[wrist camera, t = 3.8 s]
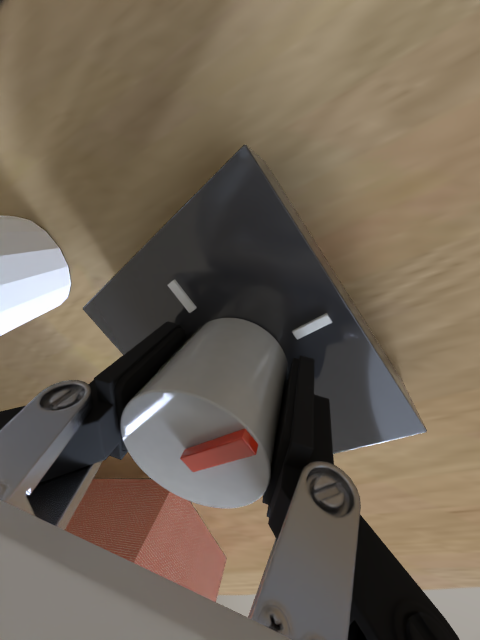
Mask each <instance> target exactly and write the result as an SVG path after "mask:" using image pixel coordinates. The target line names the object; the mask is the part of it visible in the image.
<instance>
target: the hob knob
mask: <svg viewBox="0 0 480 640" xmlns="http://www.w3.org/2000/svg"><path fill="white" fill-rule="evenodd" d="M287 377H288V364H287V359H286V356H285V354H284V352H283V349H282V348H281V346H280V345H279V343H278V342H277V341H276V339H275V338H274V337H273V336H272V335H271V334H270V333H269V332H267V331H266V330H265V329H263V328H262V327H260V326H258V325H256V324H254V323H252V322H250V321H246V320H243V319H238V318H220V319H215V320H212V321H209V322H207V323H206V324H204V325H202V326H201V327H200V328H199V329H198V330H197V331H196V332H195V333H194V334H193V335H192V336H191V337H190V338H189V339H188V340H187V341H186V342H185V343H184V344H183V345H182V347H181V348H180V349H179V350H178V351H177V352H176V353H175V354H174V355H173V356H172V357H171V358H170V359H169V360H168V361H167V362H166V363H165V364H164V365H163V366H162V368H161V369H160V370H159V371H158V372H157V373H156V374H155V375H154V376H153V377H152V378H151V379H150V380H149V381H148V382H147V383H146V384H145V385H144V386H143V388H142V389H141V390H140V391H139V392H138V393H137V394H136V395H135V396H134V397H133V398H132V399H131V400H130V401H129V402H128V403H127V405H126V406H125V408H124V410H123V413H122V416H121V421H120V429H121V435H122V439H123V441H124V444H125V446H126V448H127V450H128V452H129V454H130V455H131V457H132V458H133V460H134V461H135V462H136V464H137V465H138V466H139V467H140V468H141V469H142V470H143V471H144V472H145V473H146V474H147V475H148V476H149V477H150V478H151V479H153V480H154V481H155V482H156V483H158V484H159V485H160V486H162V487H163V488H165V489H166V490H168V491H170V492H171V493H173V494H175V495H177V496H179V497H181V498H183V499H186V500H188V501H191V502H194V503H196V504H200V505H204V506H208V507H214V508H238V507H242V506H246V505H249V504H251V503H253V502H255V501H256V500H258V499H259V498H260V497H261V496H262V495H263V494H264V492H265V491H266V490H267V488H268V485H269V483H270V479H271V473H272V467H273V461H274V455H275V449H276V443H277V437H278V431H279V425H280V419H281V413H282V407H283V401H284V395H285V389H286V383H287Z"/></svg>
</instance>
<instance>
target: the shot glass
mask: <svg viewBox="0 0 480 640" xmlns="http://www.w3.org/2000/svg"><path fill="white" fill-rule="evenodd" d="M70 286H71V281H70V274H69V268H68V265H67V263H66V261H65V259H64V256H63V254H62V252H61V250H60V248H59V247H58V245H57V244H56V243H55V242H54V241H53V239H52V238H51V237H50V236H49V234H48V233H47V232H46V231H45V230H43V229H42V228H41V227H39V226H38V225H36V224H35V223H34V222H32V221H31V220H28V219H24V218H20V217H16V216H0V336H1V335H3V334H5V333H7V332H9V331H11V330H13V329H15V328H16V327H18V326H20V325H22V324H24V323H26V322H28V321H30V320H32V319H34V318H36V317H38V316H40V315H42V314H44V313H46V312H48V311H50V310H52V309H54V308H56V307H57V306H59V305H61V304H62V303H63V302H64V301H65V300H66V299H67V298H68V295H69V291H70Z"/></svg>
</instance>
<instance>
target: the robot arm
mask: <svg viewBox="0 0 480 640" xmlns="http://www.w3.org/2000/svg"><path fill="white" fill-rule="evenodd" d="M184 343H185V330H184V329H182V327H181V325H180V324H176V323H172V322H168V321H167V322H165V323H164V324H163V325H162V326H160V327H159V328H158V329H156V330H155V331H154V332H153V333H151V334H150V335H149V336H147V337H146V338H145V339H144V340H142V341H141V342H140V343H138V344H137V345H136V346H135V347H133V348H132V349H131V350H129V351H128V352H127V353H126V354H124V355H123V356H122V357H120V358H119V359H118V360H117V361H115V362H114V363H113V364H112V365H110V366H109V367H108V368H106V369H105V370H104V371H103V372H101V373H100V374H99V375H97V376H96V377H95V378H94V380H93V381H92V382H91V383H90V384H87V383H85V382H83V381H79V380H68V381H62V382H59V383H56V384H53V385H51V386H49V387H47V388H46V389H44V390H43V391H42V392H40V393H39V394H38V395H37V396H36V397H35V398H34V399H33V400H32V401H31V402H30V403H28V404H27V405H26V406H23V407H18V408H14V409H9V410H5V411H1V412H0V640H459V638H458V636H457V635H456V633H455V632H454V630H453V629H452V628H451V626H450V625H449V623H448V622H447V620H446V619H445V618H444V617H443V616H442V614H441V613H440V612H439V610H438V609H437V608H436V607H435V605H434V604H433V603H432V602H431V601H430V599H429V598H428V597H427V596H426V595H425V593H424V592H423V591H422V590H421V588H420V587H419V586H418V585H417V583H416V582H415V581H414V580H413V579H412V577H411V576H410V575H409V574H408V572H407V571H406V570H405V569H404V568H403V566H402V565H401V564H400V563H399V561H398V560H397V559H396V558H395V557H394V555H393V554H392V553H391V552H390V550H389V549H388V548H387V547H386V545H385V544H384V543H383V542H382V541H381V539H380V538H379V537H378V536H377V534H376V533H375V532H374V531H373V530H372V528H371V527H370V526H369V525H368V523H367V522H366V521H365V520H364V519H363V517H362V516H361V515H360V509H361V505H360V496H359V493H358V491H357V488H356V486H355V485H354V483H353V482H352V480H351V478H350V477H349V476H348V475H347V474H346V473H345V472H344V471H343V470H341V469H340V468H338V467H337V466H335V465H334V460H333V445H332V430H331V415H330V402H329V399H328V398H325V397H321V396H318V395H314V359H313V358H309V357H305V356H301V355H300V356H299V359H298V358H293V361H292V365H291V369H290V372H289V376H288V380H287V383H286V389H285V395H284V401H283V407H282V413H281V419H280V425H279V431H278V437H277V443H276V449H275V455H274V461H273V467H272V473H271V479H270V483H269V485H268V488H267V490H266V491H265V492H264V495H263V503H265V504H268V511H267V517H269V523H268V524H269V526H270V528H271V530H272V531H273V533H274V535H275V537H276V539H275V542H274V545H273V548H272V551H271V553H270V556H269V559H268V562H267V565H266V568H265V570H264V573H263V576H262V579H261V582H260V585H259V588H258V590H257V593H256V596H255V599H254V602H253V605H252V608H251V610H250V613H249V616H248V618H247V617H245V616H243V615H241V614H239V613H237V612H235V611H233V610H231V609H229V608H227V607H224V606H222V605H220V604H218V603H216V602H214V601H212V600H210V599H208V598H206V597H204V596H202V595H199V594H197V593H195V592H193V591H191V590H189V589H187V588H185V587H183V586H181V585H179V584H177V583H174V582H172V581H170V580H168V579H166V578H164V577H162V576H160V575H158V574H156V573H154V572H151V571H149V570H147V569H145V568H143V567H141V566H139V565H137V564H135V563H133V562H130V561H128V560H126V559H124V558H122V557H120V556H118V555H116V554H114V553H111V552H109V551H107V550H105V549H103V548H101V547H99V546H97V545H95V544H92V543H90V542H88V541H86V540H84V539H82V538H80V537H78V536H75V535H73V534H71V533H69V532H67V531H65V529H66V527H67V525H68V523H69V522H70V520H71V518H72V516H73V514H74V513H75V511H76V509H77V507H78V505H79V504H80V502H81V500H82V498H83V496H84V494H85V493H86V491H87V489H88V487H89V485H90V484H91V482H92V480H93V478H94V476H95V475H96V473H97V471H98V469H99V467H100V466H101V463H102V461H103V460H106V458H107V457H108V456H112V457H115V458H117V459H120V460H121V459H122V458H123V457H124V456H125V454H126V453H127V452H128V450H127V448H126V446H125V444H124V441H123V439H122V435H121V429H120V421H121V416H122V413H123V410H124V408H125V406H126V405H127V403H128V402H129V401H130V400H131V399H132V398H133V397H134V396H135V395H136V394H137V393H138V392H139V391H140V390H141V389H142V388H143V386H144V385H145V384H146V383H147V382H148V381H149V380H150V379H151V378H152V377H153V376H154V375H155V374H156V373H157V372H158V371H159V370H160V369H161V368H162V366H163V365H164V364H165V363H166V362H167V361H168V360H169V359H170V358H171V357H172V356H173V355H174V354H175V353H176V352H177V351H178V350H179V349H180V348H181V347H182V345H183V344H184Z"/></svg>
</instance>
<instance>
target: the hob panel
mask: <svg viewBox="0 0 480 640" xmlns="http://www.w3.org/2000/svg"><path fill="white" fill-rule="evenodd" d="M83 310H84V311H85V312H86V313H87V314H88V316H89V317H90V318H91V319H92V320H93V321H94V322H95V323H96V325H97V326H98V327H99V328H100V329H101V330H102V331H103V333H104V334H105V335H106V336H107V337H108V338H109V339H110V340H111V342H112V343H113V344H114V345H115V346H116V347H117V348H118V349H119V351H120V352H121V353H122V354H123V355H124V354H126V353H127V352H128V351H129V350H131V349H132V348H133V347H135V346H136V345H137V344H138V343H140V342H141V341H142V340H144V339H145V338H146V337H147V336H149V335H150V334H151V333H153V332H154V331H155V330H156V329H158V328H159V327H160V326H162V325H163V324H164V323H165V322H167V321H168V322H172V323H176V324H180V325H181V327H182V329H184V330H185V342H186V341H187V340H188V339H189V338H190V337H191V336H192V335H193V334H194V333H195V332H196V331H197V330H198V329H199V328H200V327H201V326H202V325H204V324H206V323H207V322H209V321H212V320H215V319H220V318H238V319H243V320H246V321H250V322H252V323H254V324H256V325H258V326H260V327H262V328H263V329H265V330H266V331H267V332H269V333H270V334H271V335H272V336H273V337H274V338H275V339H276V341H277V342H278V343H279V345H280V346H281V348H282V349H283V352H284V354H285V356H286V359H287V364H288V376H289V372H290V369H291V365H292V361H293V358H298V359H299V356H300V355H301V356H305V357H309V358H313V359H314V395H318V396H321V397H325V398H328V399H329V402H330V415H331V430H332V445H333V454H335V453H339V452H344V451H348V450H352V449H356V448H361V447H365V446H369V445H373V444H378V443H382V442H386V441H391V440H395V439H399V438H403V437H408V436H412V435H416V434H420V433H425V432H427V430H426V428H425V426H424V424H423V421H422V419H421V417H420V415H419V413H418V411H417V409H416V407H415V405H414V403H413V401H412V399H411V397H410V395H409V393H408V391H407V389H406V387H405V385H404V383H403V381H402V380H401V378H400V376H399V375H398V373H397V372H396V370H395V368H394V367H393V365H392V364H391V362H390V360H389V359H388V357H387V356H386V354H385V352H384V351H383V349H382V348H381V346H380V344H379V343H378V341H377V340H376V338H375V336H374V335H373V333H372V332H371V330H370V328H369V327H368V325H367V324H366V322H365V321H364V319H363V317H362V316H361V314H360V313H359V311H358V309H357V308H356V306H355V305H354V303H353V301H352V300H351V298H350V297H349V295H348V293H347V292H346V290H345V289H344V287H343V285H342V284H341V282H340V281H339V279H338V277H337V276H336V274H335V273H334V271H333V269H332V268H331V266H330V265H329V263H328V261H327V260H326V258H325V257H324V255H323V253H322V252H321V250H320V249H319V247H318V245H317V244H316V242H315V241H314V239H313V237H312V236H311V234H310V233H309V231H308V229H307V228H306V226H305V225H304V223H303V221H302V220H301V218H300V217H299V215H298V213H297V212H296V210H295V209H294V207H293V205H292V204H291V202H290V201H289V199H288V197H287V196H286V194H285V193H284V191H283V189H282V188H281V186H280V185H279V183H278V181H277V180H276V178H275V177H274V175H273V173H272V172H271V170H270V169H269V167H268V165H267V164H266V162H265V161H264V160H263V159H262V158H261V157H260V156H259V155H257V154H256V153H255V152H254V151H253V150H252V149H250V148H249V147H248V146H247V145H243V146H242V147H241V148H240V149H239V150H238V151H237V152H236V153H235V154H234V155H233V156H232V157H231V158H230V159H229V160H228V161H227V162H226V163H225V164H224V165H223V166H222V167H221V168H220V169H219V170H218V172H217V173H216V174H215V175H214V176H213V177H212V178H211V179H210V180H209V181H208V182H207V183H206V184H205V185H204V186H203V187H202V188H201V189H200V190H199V191H198V192H197V193H196V194H195V195H194V196H193V197H192V198H191V199H190V200H189V201H188V202H187V203H186V204H185V205H184V206H183V207H182V208H181V209H180V210H179V211H178V212H177V213H176V214H175V215H174V216H173V217H172V218H171V219H170V220H169V221H168V222H167V223H166V224H165V225H164V226H163V227H162V228H161V229H160V230H159V231H158V232H157V233H156V234H155V235H154V236H153V237H152V238H151V239H150V240H149V241H148V242H147V243H146V244H145V245H144V246H143V247H142V248H141V249H140V250H139V251H138V252H137V253H136V254H135V256H134V257H133V258H132V259H131V260H130V261H129V262H128V263H127V264H126V265H125V266H124V267H123V268H122V269H121V270H120V271H119V272H118V273H117V274H116V275H115V276H114V277H113V278H112V279H111V280H110V281H109V282H108V283H107V284H106V285H105V286H104V287H103V288H102V289H101V290H100V291H99V292H98V293H97V294H96V295H95V296H94V297H93V298H92V299H91V300H90V301H89V302H88V303H87V304H86V305H85V306H84V307H83ZM287 380H288V377H287Z"/></svg>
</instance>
